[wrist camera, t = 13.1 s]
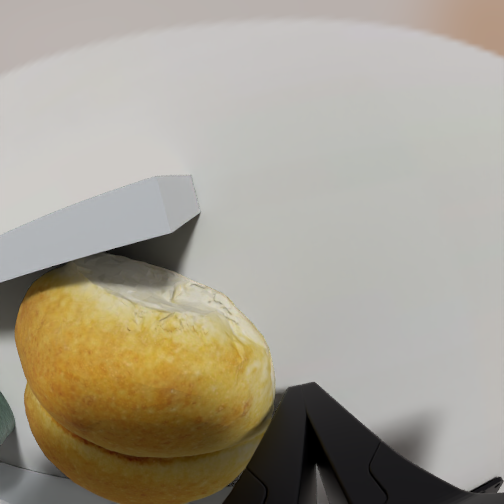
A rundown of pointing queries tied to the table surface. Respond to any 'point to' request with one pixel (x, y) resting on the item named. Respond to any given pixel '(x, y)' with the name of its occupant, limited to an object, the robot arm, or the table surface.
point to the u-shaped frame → (77, 246)
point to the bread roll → (142, 380)
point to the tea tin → (5, 419)
